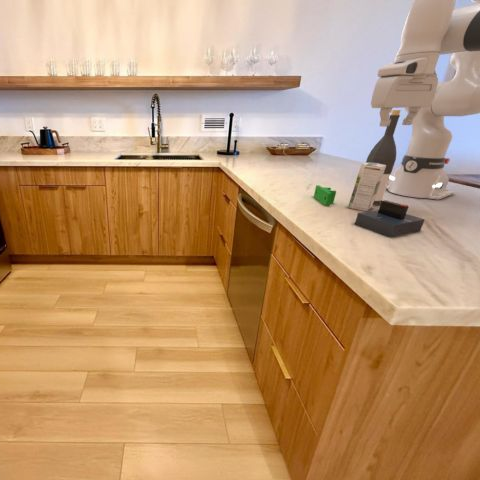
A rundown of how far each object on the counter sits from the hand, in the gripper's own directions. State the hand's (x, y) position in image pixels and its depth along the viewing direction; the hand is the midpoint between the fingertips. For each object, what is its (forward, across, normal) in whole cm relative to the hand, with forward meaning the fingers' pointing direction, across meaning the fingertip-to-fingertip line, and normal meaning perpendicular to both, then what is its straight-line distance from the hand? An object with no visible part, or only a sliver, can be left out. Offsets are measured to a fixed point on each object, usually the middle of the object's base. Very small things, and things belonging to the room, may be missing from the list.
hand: (395, 125), depth 80 cm
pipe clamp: (+26, +2, -15) cm, 30 cm away
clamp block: (+26, +7, +10) cm, 29 cm away
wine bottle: (+26, -12, -9) cm, 30 cm away
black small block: (+22, +7, +10) cm, 25 cm away
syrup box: (+26, -3, -5) cm, 27 cm away
